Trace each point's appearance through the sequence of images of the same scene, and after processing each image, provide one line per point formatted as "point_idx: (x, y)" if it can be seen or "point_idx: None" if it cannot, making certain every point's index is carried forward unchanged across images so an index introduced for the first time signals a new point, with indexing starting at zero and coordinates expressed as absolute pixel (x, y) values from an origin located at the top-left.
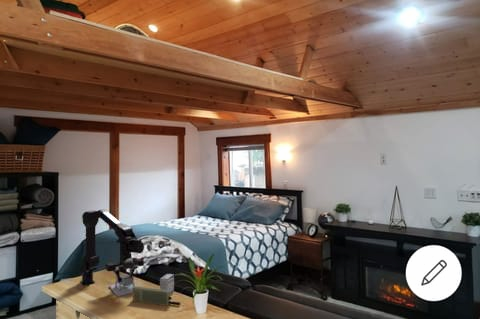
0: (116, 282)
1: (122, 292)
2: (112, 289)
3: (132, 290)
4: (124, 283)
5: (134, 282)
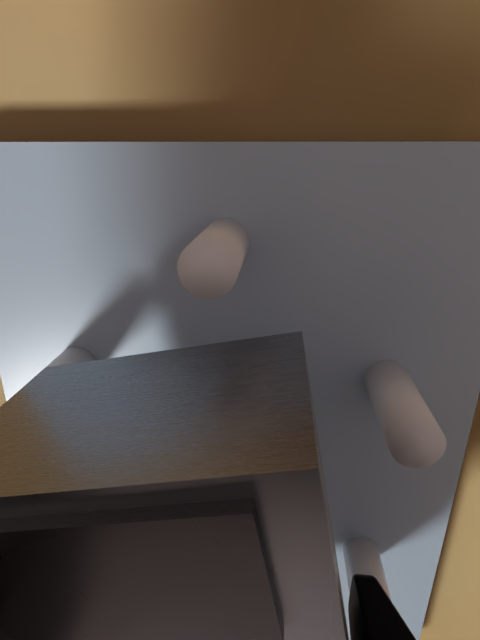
0: None
1: (386, 194)
2: (445, 504)
3: (142, 192)
4: (307, 377)
5: None
